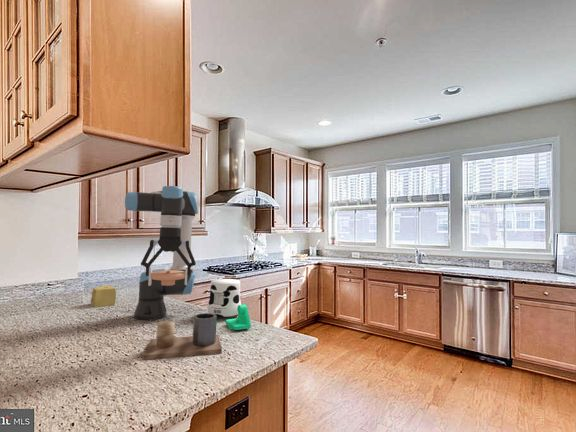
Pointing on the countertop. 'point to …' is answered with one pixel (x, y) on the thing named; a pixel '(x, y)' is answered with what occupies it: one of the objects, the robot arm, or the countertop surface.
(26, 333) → the countertop surface
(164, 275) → the domed pot lid
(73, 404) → the countertop surface
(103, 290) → the cheese
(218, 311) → the milk container
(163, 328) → the brown board with post
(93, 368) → the countertop surface
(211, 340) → the tube
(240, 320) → the camera mount
